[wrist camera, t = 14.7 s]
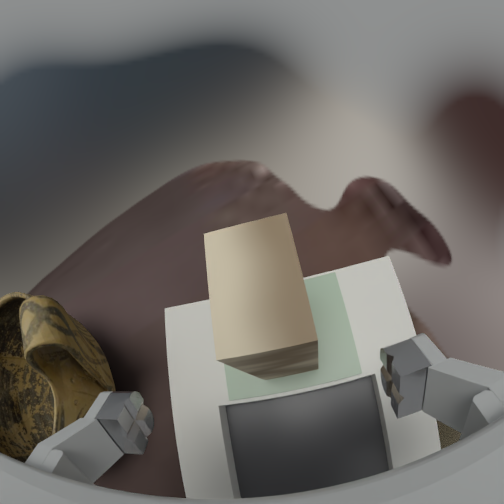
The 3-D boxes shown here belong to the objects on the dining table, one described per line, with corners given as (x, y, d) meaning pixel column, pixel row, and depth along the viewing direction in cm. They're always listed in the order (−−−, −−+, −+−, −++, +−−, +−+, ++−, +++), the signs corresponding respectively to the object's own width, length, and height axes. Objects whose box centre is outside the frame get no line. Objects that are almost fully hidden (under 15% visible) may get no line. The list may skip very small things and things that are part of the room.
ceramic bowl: (53, 487, 19) (-50, 485, 6) (19, 366, 28) (-69, 328, 15) (202, 441, 21) (74, 463, 8) (135, 287, 30) (35, 205, 17)
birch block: (265, 380, 20) (216, 360, 11) (252, 306, 24) (203, 233, 14) (318, 369, 20) (318, 340, 11) (301, 295, 23) (286, 212, 14)
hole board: (205, 535, 16) (195, 544, 14) (174, 315, 27) (163, 307, 25) (437, 494, 14) (446, 500, 12) (384, 265, 25) (389, 254, 23)
